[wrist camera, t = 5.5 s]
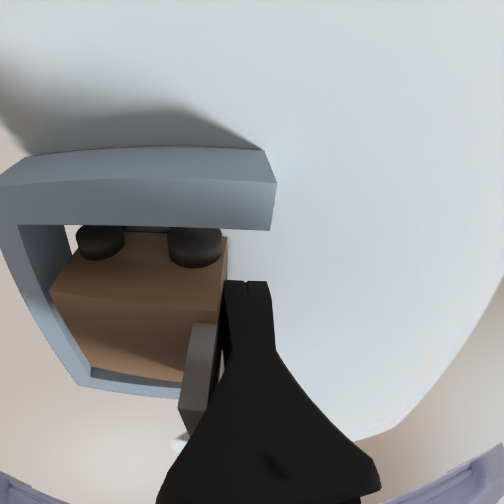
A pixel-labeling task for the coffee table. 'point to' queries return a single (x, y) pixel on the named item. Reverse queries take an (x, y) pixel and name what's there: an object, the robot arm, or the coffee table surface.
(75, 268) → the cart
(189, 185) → the bay
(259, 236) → the coffee table surface
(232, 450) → the robot arm
